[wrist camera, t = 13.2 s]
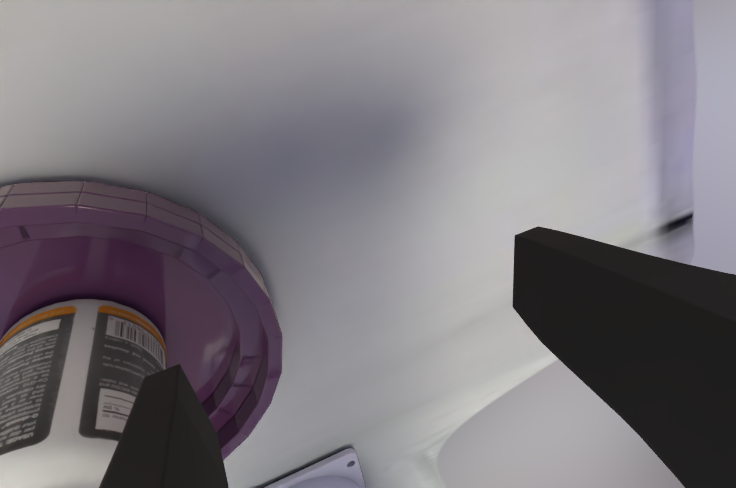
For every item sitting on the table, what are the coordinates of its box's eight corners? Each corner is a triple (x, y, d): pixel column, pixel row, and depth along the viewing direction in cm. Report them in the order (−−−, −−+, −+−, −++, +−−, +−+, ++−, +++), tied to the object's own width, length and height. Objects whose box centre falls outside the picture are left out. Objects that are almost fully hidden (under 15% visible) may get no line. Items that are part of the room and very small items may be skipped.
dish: (300, 390, 24) (314, 429, 22) (-4, 518, 20) (-21, 579, 18) (210, 127, 16) (219, 149, 14) (-300, 259, 13) (-387, 313, 11)
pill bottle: (15, 421, 18) (-91, 767, 10) (-22, 300, 16) (-202, 634, 8) (172, 393, 20) (186, 657, 12) (162, 283, 18) (172, 527, 10)
